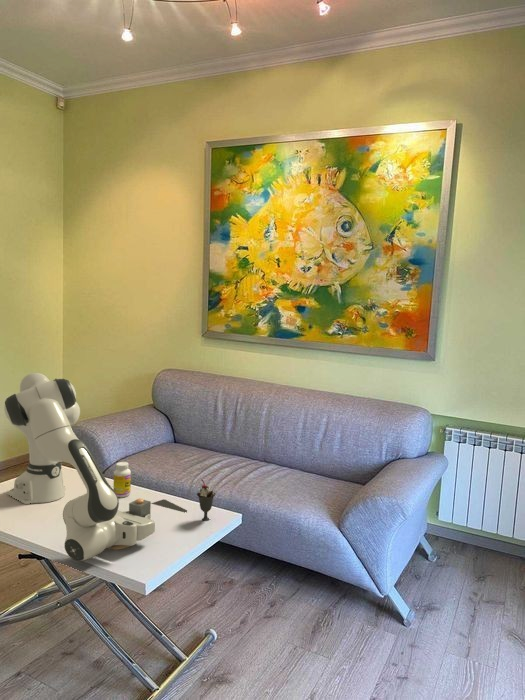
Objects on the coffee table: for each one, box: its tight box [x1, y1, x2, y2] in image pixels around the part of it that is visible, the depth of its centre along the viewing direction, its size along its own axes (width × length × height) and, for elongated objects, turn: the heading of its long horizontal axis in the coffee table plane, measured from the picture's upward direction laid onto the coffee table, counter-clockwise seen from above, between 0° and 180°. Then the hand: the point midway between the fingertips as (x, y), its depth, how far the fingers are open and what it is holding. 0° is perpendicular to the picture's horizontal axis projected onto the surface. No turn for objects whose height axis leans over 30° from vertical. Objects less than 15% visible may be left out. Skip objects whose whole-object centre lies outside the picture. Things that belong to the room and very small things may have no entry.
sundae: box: [196, 479, 216, 522], centre depth 182 cm, size 7×7×15 cm
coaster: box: [108, 545, 131, 550], centre depth 164 cm, size 9×9×1 cm
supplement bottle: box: [112, 461, 132, 498], centre depth 204 cm, size 7×7×13 cm
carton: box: [128, 498, 152, 517], centre depth 172 cm, size 5×5×11 cm
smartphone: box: [151, 499, 188, 513], centre depth 193 cm, size 7×1×15 cm
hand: (141, 513), depth 173 cm, fingers closed on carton, 5 cm apart
